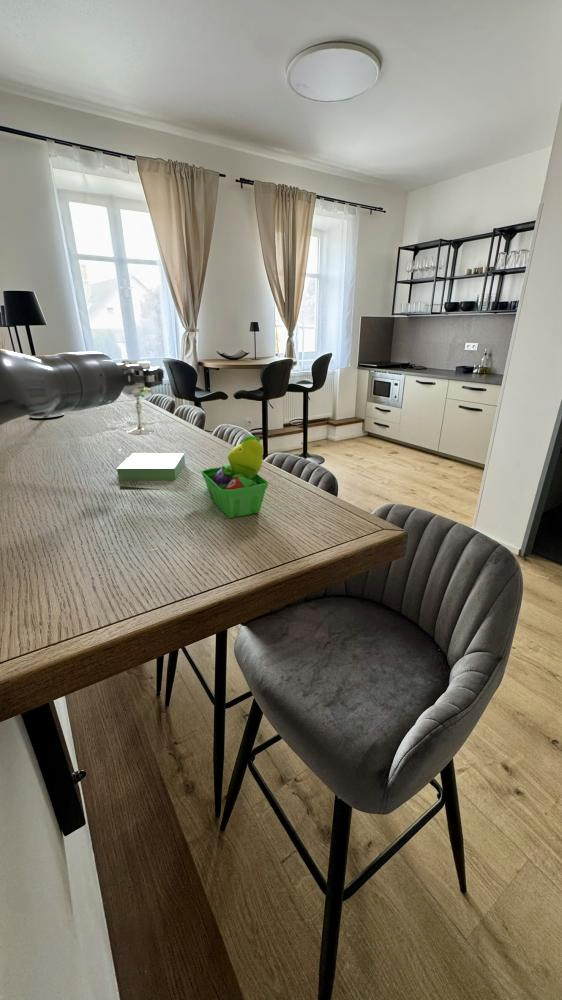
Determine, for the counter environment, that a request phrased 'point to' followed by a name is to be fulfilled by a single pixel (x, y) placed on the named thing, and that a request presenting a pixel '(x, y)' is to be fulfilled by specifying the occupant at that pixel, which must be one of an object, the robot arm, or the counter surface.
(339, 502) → the counter surface
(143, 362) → the wineglass
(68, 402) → the robot arm
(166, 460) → the green block
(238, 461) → the fruit basket
